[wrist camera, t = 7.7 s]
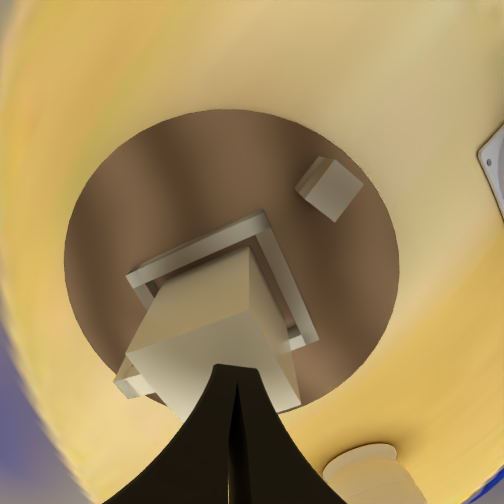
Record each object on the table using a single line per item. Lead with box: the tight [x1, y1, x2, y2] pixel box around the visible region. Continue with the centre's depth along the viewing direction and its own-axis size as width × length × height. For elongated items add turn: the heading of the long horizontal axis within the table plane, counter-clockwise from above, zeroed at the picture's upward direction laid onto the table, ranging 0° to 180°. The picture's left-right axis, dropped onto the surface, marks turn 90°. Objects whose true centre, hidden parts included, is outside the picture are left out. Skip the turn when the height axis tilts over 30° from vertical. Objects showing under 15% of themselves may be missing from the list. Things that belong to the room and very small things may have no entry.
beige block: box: [113, 244, 301, 424], centre depth 14 cm, size 8×5×6 cm, turn 114°
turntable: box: [64, 110, 399, 414], centre depth 16 cm, size 20×20×4 cm
